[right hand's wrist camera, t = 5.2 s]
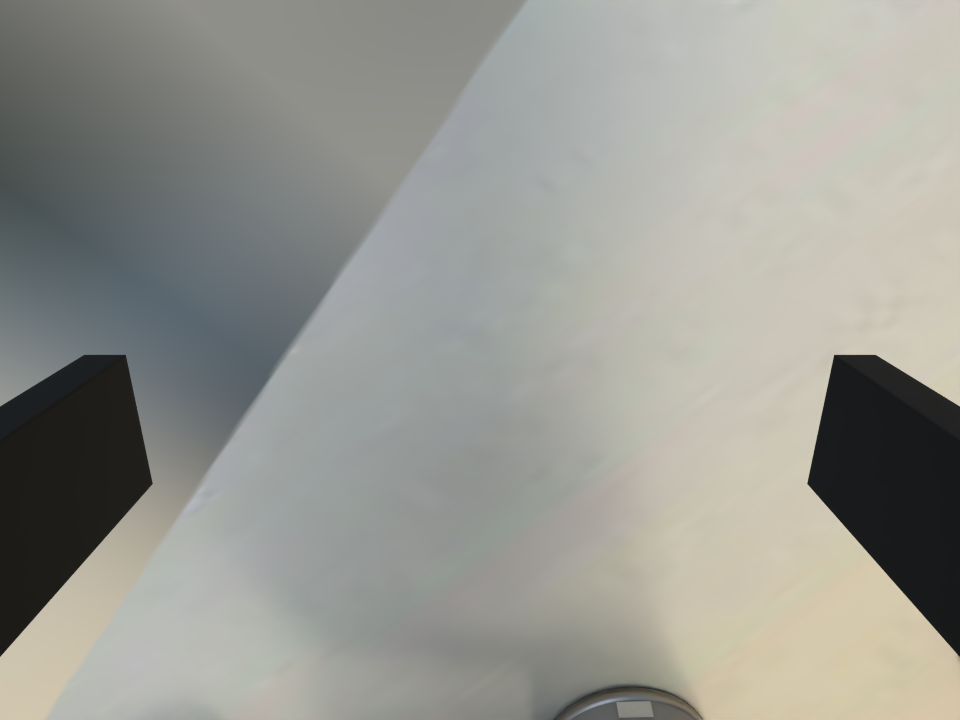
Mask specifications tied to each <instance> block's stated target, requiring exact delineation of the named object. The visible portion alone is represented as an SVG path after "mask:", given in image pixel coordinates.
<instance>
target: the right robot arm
mask: <svg viewBox="0 0 960 720" xmlns="http://www.w3.org/2000/svg"><path fill="white" fill-rule="evenodd" d="M152 484H153V483H152V479H151V474H150V469H149V464H148V460H147V455H146V450H145V445H144V440H143V435H142V431H141V426H140V421H139V416H138V411H137V407H136V402H135V397H134V392H133V388H132V383H131V378H130V373H129V368H128V364H127V359H126V355H84V356H82V357H80V358H79V359H77V360H75V361H74V362H72V363H70V364H69V365H67V366H66V367H64V368H62V369H61V370H59V371H57V372H56V373H54V374H53V375H51V376H49V377H48V378H46V379H44V380H43V381H41V382H39V383H38V384H36V385H35V386H33V387H31V388H30V389H28V390H26V391H25V392H23V393H22V394H20V395H18V396H17V397H15V398H13V399H12V400H10V401H8V402H7V403H5V404H4V405H2V406H0V656H1V655H2V654H3V653H4V652H5V651H6V650H7V648H8V647H9V646H10V645H11V644H12V643H13V642H14V641H15V639H16V638H17V637H18V636H19V635H20V634H21V633H22V631H23V630H24V629H25V628H26V627H27V626H28V625H29V624H30V622H31V621H32V620H33V619H34V618H35V617H36V616H37V614H38V613H39V612H40V611H41V610H42V609H43V608H44V606H45V605H46V604H47V603H48V602H49V601H50V600H51V599H52V597H53V596H54V595H55V594H56V593H57V592H58V591H59V589H60V588H61V587H62V586H63V585H64V584H65V583H66V582H67V580H68V579H69V578H70V577H71V576H72V575H73V574H74V572H75V571H76V570H77V569H78V568H79V567H80V566H81V564H82V563H83V562H84V561H85V560H86V559H87V558H88V557H89V555H90V554H91V553H92V552H93V551H94V550H95V549H96V547H97V546H98V545H99V544H100V543H101V542H102V541H103V540H104V538H105V537H106V536H107V535H108V534H109V533H110V532H111V530H112V529H113V528H114V527H115V526H116V525H117V524H118V523H119V521H120V520H121V519H122V518H123V517H124V516H125V515H126V513H127V512H128V511H129V510H130V509H131V508H132V507H133V506H134V504H135V503H136V502H137V501H138V500H139V499H140V497H141V496H142V495H143V494H144V493H145V492H146V491H147V490H148V488H149V487H150V486H151V485H152ZM807 484H808V485H809V486H810V487H811V488H812V490H813V491H814V492H815V493H816V494H817V495H818V496H819V498H820V499H821V500H822V501H823V502H824V503H825V504H826V506H827V507H828V508H829V509H830V510H831V511H832V512H833V513H834V515H835V516H836V517H837V518H838V519H839V520H840V521H841V523H842V524H843V525H844V526H845V527H846V528H847V529H848V530H849V532H850V533H851V534H852V535H853V536H854V537H855V538H856V540H857V541H858V542H859V543H860V544H861V545H862V546H863V547H864V549H865V550H866V551H867V552H868V553H869V554H870V555H871V557H872V558H873V559H874V560H875V561H876V562H877V563H878V565H879V566H880V567H881V568H882V569H883V570H884V571H885V572H886V574H887V575H888V576H889V577H890V578H891V579H892V580H893V582H894V583H895V584H896V585H897V586H898V587H899V588H900V589H901V591H902V592H903V593H904V594H905V595H906V596H907V597H908V599H909V600H910V601H911V602H912V603H913V604H914V605H915V606H916V608H917V609H918V610H919V611H920V612H921V613H922V614H923V616H924V617H925V618H926V619H927V620H928V621H929V622H930V624H931V625H932V626H933V627H934V628H935V629H936V630H937V631H938V633H939V634H940V635H941V636H942V637H943V638H944V639H945V641H946V642H947V643H948V644H949V645H950V646H951V647H952V648H953V650H954V651H955V652H956V653H957V654H958V655H959V656H960V406H958V405H956V404H955V403H953V402H951V401H950V400H948V399H947V398H945V397H943V396H942V395H940V394H938V393H937V392H935V391H934V390H932V389H930V388H929V387H927V386H925V385H924V384H922V383H921V382H919V381H917V380H916V379H914V378H912V377H911V376H909V375H907V374H906V373H904V372H903V371H901V370H899V369H898V368H896V367H894V366H893V365H891V364H890V363H888V362H886V361H885V360H883V359H881V358H880V357H878V356H876V355H834V359H833V364H832V368H831V373H830V378H829V383H828V388H827V392H826V397H825V402H824V407H823V411H822V416H821V421H820V426H819V431H818V435H817V440H816V445H815V450H814V455H813V459H812V464H811V469H810V474H809V478H808V483H807ZM555 720H702V719H701V717H700V716H699V715H698V713H697V712H696V711H695V710H694V709H693V708H692V707H691V706H689V705H688V704H687V703H685V702H684V701H682V700H681V699H679V698H677V697H675V696H673V695H670V694H668V693H665V692H662V691H658V690H653V689H648V688H636V687H627V688H616V689H610V690H605V691H601V692H598V693H595V694H592V695H589V696H587V697H584V698H582V699H580V700H579V701H577V702H575V703H573V704H572V705H570V706H569V707H567V708H566V709H565V710H564V711H562V712H561V713H560V714H559V715H558V716H557V717H556V719H555Z"/></svg>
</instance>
